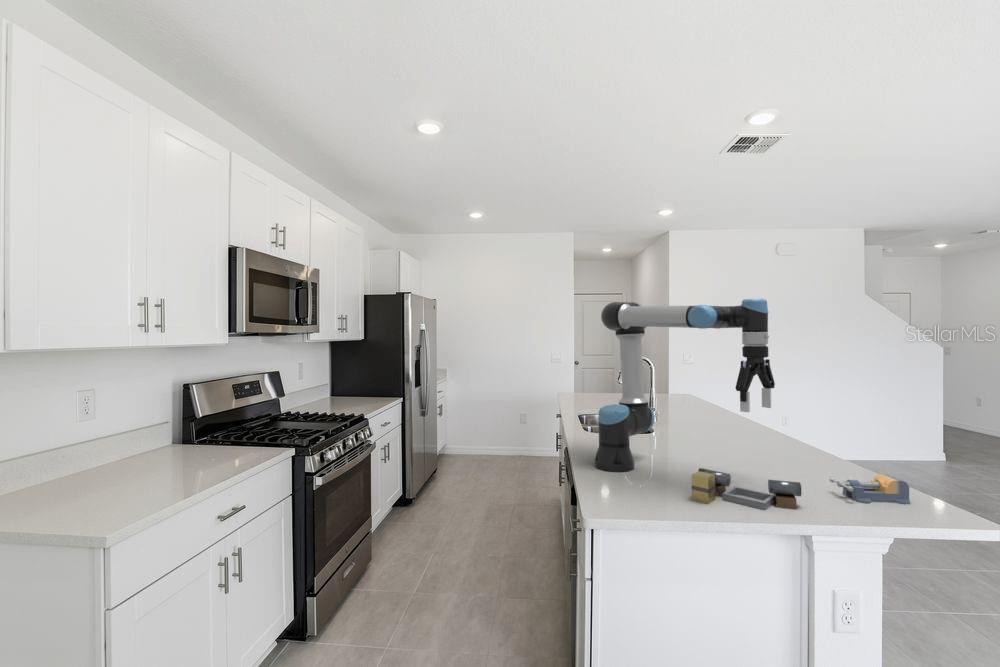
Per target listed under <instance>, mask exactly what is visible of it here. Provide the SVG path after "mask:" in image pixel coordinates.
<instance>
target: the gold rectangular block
mask: <svg viewBox="0 0 1000 667" xmlns="http://www.w3.org/2000/svg"><path fill="white" fill-rule="evenodd" d="M715 489H716V485H715V474H711V473H706V472H701V471H698V470H697V471H696V472H694V473H692V474H691V501H695V502H698V503H702V504H706V505H710V504H711V503H713V502H715V501H716V496H715Z"/></svg>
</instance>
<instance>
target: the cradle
mask: <svg viewBox="0 0 1000 667" xmlns="http://www.w3.org/2000/svg"><path fill="white" fill-rule="evenodd" d="M744 495H745V496H744ZM748 496H749V497H748ZM757 499H758V500H757ZM722 500H723V501H726V502H729V503H734V504H739V505H742V506H747V507H751V508H754V509H759V510H763V511H766V510H768V508H770V507H771V506H772V505H773V504H775V496H774V495H773V494H771V493H769V492H765V491H763V492H762V491H759V490H754V489H749V488H744V487H741V486H736V485H733V486H732V487H730V488H729V489H726V491H725V492H724V493H723V494H722ZM762 500H763V501H762Z"/></svg>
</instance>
